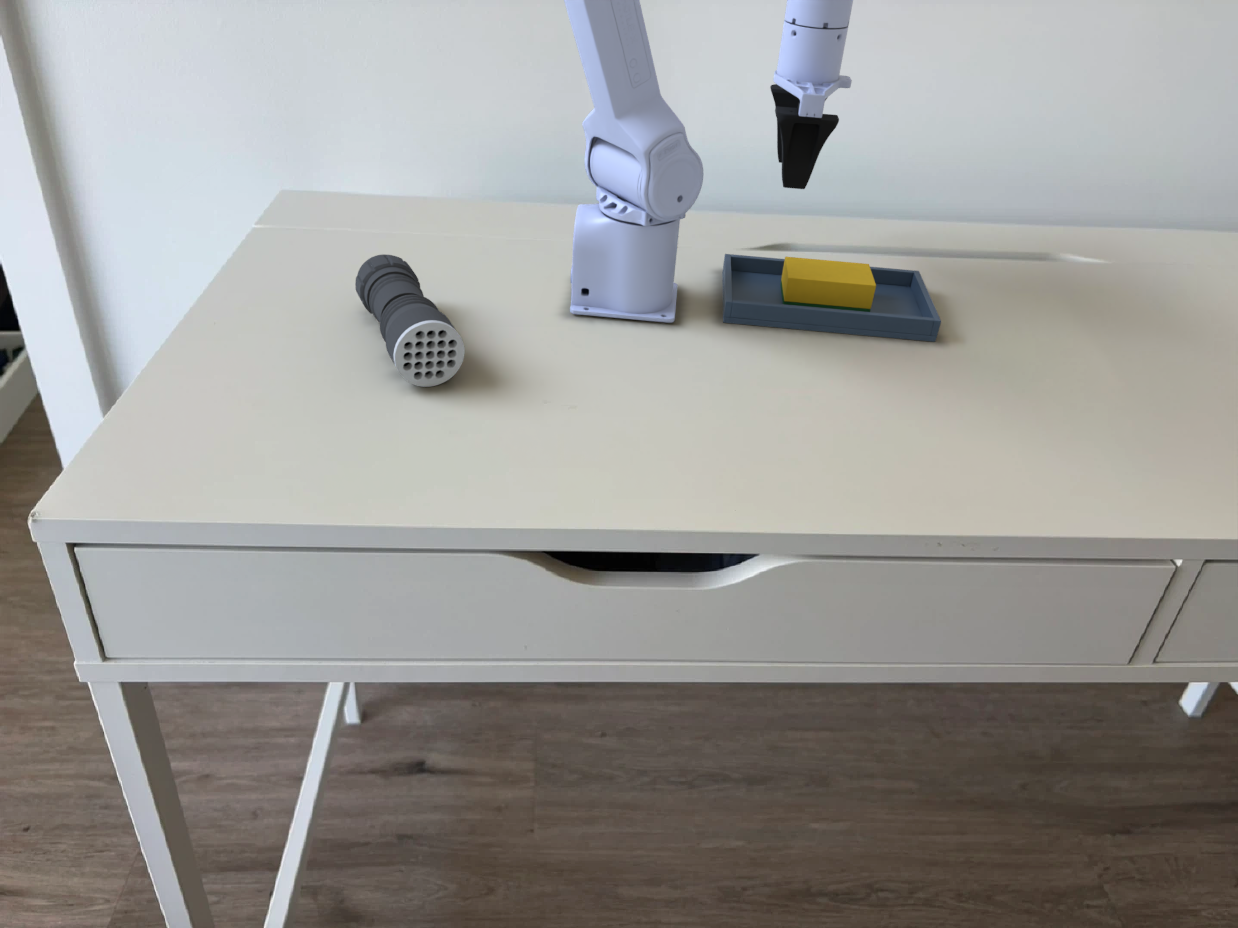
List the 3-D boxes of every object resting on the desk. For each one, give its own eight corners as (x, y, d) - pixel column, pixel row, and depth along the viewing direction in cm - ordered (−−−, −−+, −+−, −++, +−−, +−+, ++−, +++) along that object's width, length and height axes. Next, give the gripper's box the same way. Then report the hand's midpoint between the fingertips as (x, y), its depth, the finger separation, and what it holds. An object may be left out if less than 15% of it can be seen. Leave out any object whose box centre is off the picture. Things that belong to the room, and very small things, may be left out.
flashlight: (353, 308, 82) (347, 250, 79) (414, 300, 85) (409, 243, 81) (397, 392, 71) (392, 328, 68) (465, 380, 73) (463, 318, 70)
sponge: (783, 307, 86) (788, 277, 85) (780, 285, 90) (785, 256, 89) (869, 315, 86) (876, 285, 84) (862, 292, 90) (869, 263, 88)
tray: (722, 322, 84) (725, 301, 83) (722, 273, 94) (724, 253, 92) (935, 342, 84) (941, 321, 82) (913, 290, 93) (919, 270, 92)
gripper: (872, 42, 77) (840, 203, 85) (851, 12, 89) (825, 155, 96) (786, 35, 77) (762, 196, 85) (777, 6, 89) (757, 149, 97)
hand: (791, 174), depth 91 cm, fingers open, 7 cm apart
